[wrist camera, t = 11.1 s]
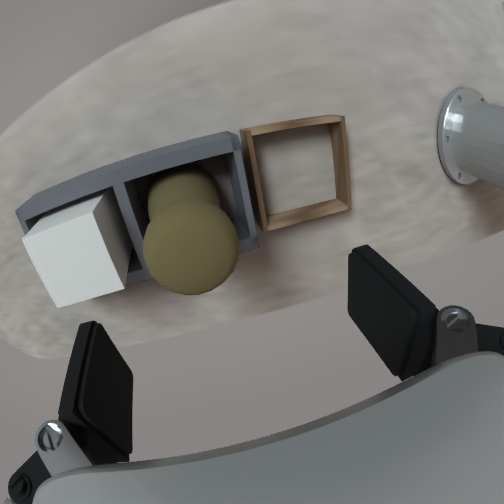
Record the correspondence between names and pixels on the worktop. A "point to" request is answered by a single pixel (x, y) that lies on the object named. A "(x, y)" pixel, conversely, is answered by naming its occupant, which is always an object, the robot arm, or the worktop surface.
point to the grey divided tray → (128, 198)
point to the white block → (81, 248)
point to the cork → (188, 231)
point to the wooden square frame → (312, 210)
